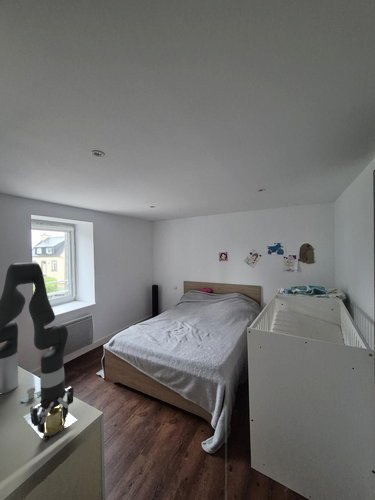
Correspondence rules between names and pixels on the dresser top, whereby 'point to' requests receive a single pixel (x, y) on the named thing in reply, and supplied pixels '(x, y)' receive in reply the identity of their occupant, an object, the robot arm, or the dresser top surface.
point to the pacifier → (31, 394)
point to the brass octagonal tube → (54, 421)
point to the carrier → (69, 421)
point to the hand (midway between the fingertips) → (54, 424)
